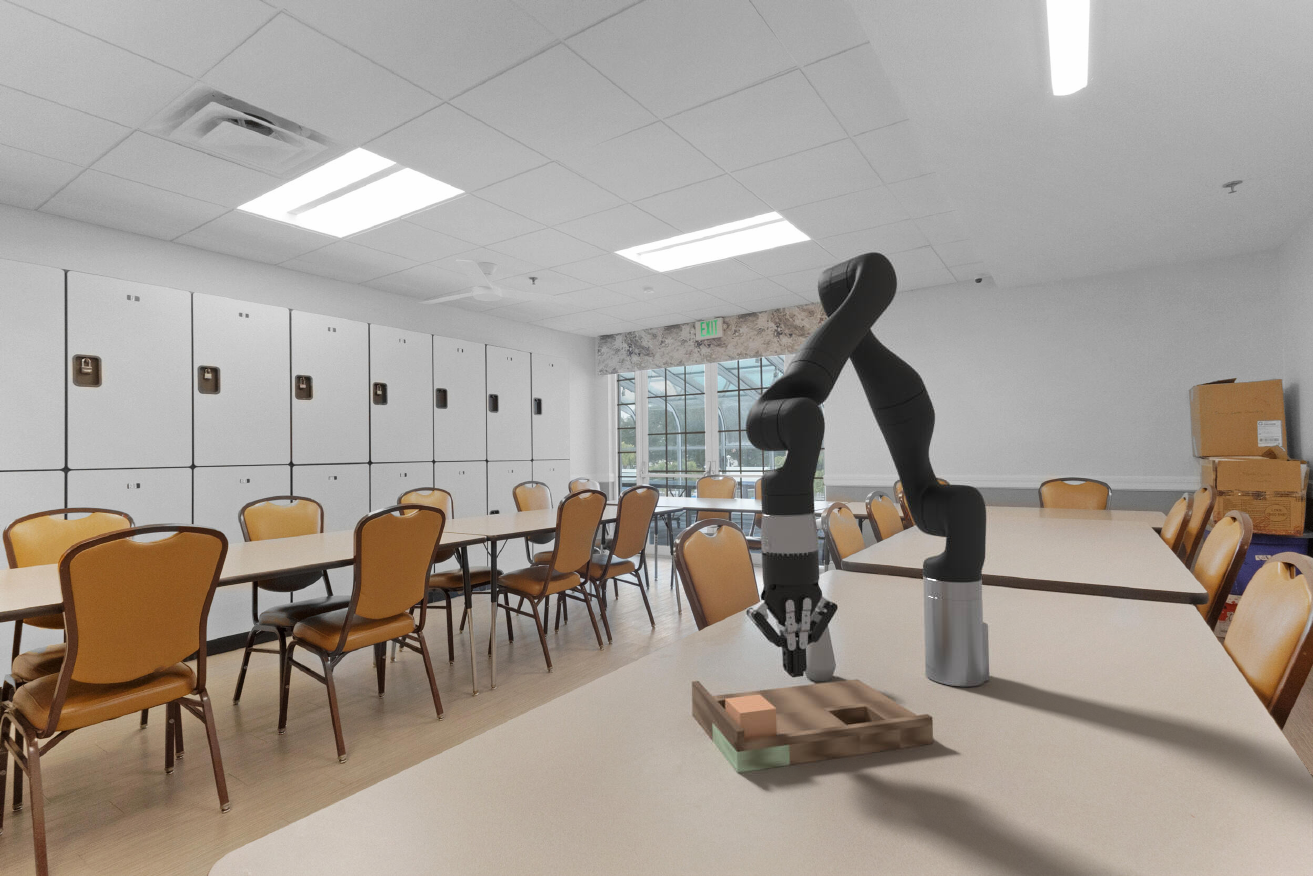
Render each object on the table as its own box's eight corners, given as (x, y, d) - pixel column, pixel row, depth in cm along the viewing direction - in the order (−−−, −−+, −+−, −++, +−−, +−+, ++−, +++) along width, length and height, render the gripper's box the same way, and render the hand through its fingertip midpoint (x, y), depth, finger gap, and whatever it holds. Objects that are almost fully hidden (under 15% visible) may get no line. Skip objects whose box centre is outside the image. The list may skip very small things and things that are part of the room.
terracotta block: (760, 724, 86) (759, 694, 86) (776, 740, 81) (776, 708, 81) (725, 729, 85) (725, 698, 85) (740, 745, 80) (739, 713, 80)
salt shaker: (837, 684, 107) (835, 606, 108) (802, 682, 109) (800, 605, 109) (834, 672, 113) (833, 599, 114) (801, 670, 114) (800, 598, 115)
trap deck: (857, 694, 103) (857, 663, 103) (933, 743, 85) (932, 705, 85) (692, 715, 96) (691, 681, 96) (737, 772, 78) (736, 731, 78)
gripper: (819, 539, 91) (824, 660, 91) (733, 546, 88) (738, 672, 88) (848, 546, 84) (853, 678, 84) (755, 554, 81) (761, 692, 81)
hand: (794, 675), depth 86 cm, fingers closed
